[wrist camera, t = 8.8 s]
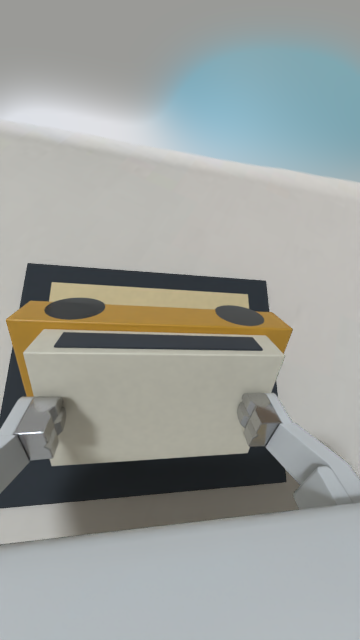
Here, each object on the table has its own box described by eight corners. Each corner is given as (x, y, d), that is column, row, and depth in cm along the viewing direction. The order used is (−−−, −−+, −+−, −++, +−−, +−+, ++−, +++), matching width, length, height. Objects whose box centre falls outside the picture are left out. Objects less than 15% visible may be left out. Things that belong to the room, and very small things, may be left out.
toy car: (239, 395, 18) (266, 306, 14) (269, 456, 14) (318, 348, 10) (55, 399, 16) (35, 294, 12) (18, 473, 11) (-31, 342, 8)
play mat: (264, 282, 21) (266, 280, 21) (284, 480, 17) (286, 482, 17) (29, 264, 18) (27, 263, 18) (-14, 507, 14) (-18, 510, 14)
